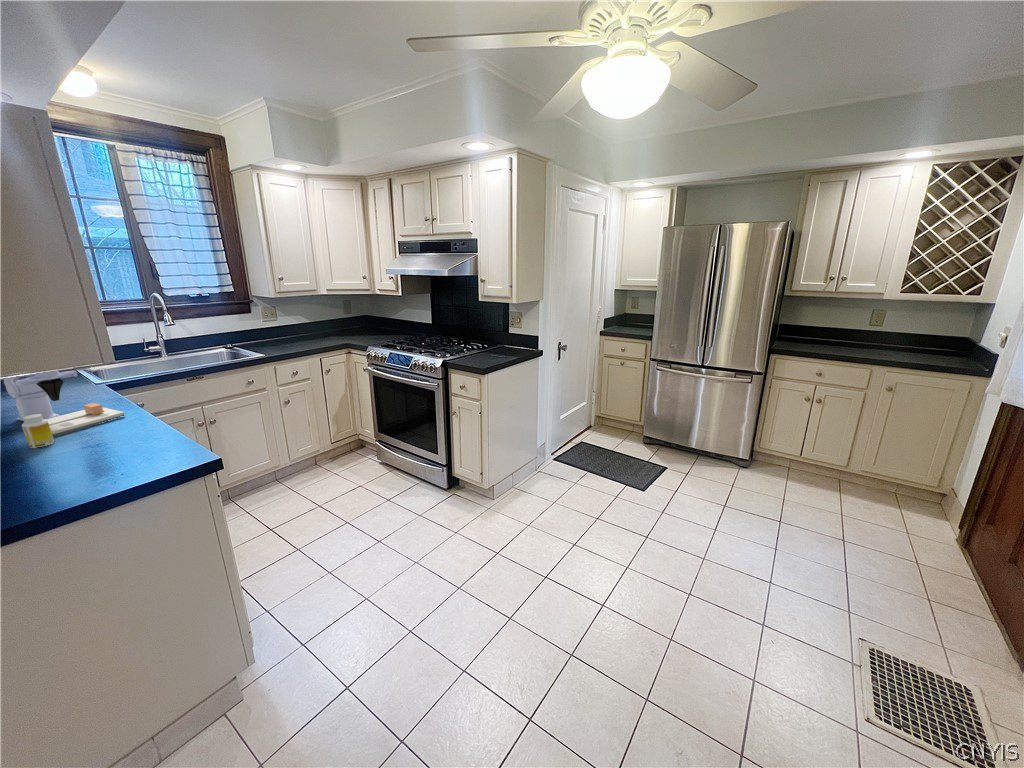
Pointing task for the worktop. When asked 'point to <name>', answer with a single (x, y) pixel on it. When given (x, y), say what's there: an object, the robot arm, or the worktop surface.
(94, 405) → the switch
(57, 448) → the worktop surface
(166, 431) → the worktop surface
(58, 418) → the white flat board
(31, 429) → the supplement bottle
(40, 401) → the robot arm
